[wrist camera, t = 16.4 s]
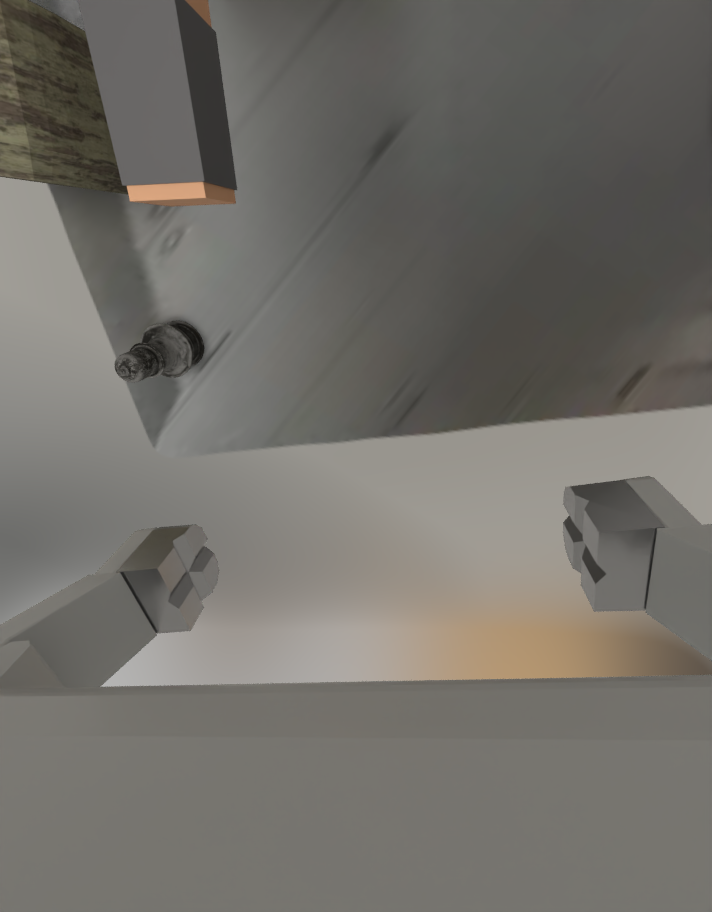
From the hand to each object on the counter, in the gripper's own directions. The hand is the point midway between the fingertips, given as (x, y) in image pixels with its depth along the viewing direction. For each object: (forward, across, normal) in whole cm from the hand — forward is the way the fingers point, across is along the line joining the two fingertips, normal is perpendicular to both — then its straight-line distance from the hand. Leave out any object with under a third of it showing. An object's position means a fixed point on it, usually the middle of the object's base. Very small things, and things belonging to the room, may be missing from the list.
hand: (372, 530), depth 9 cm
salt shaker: (+39, +26, 0) cm, 47 cm away
